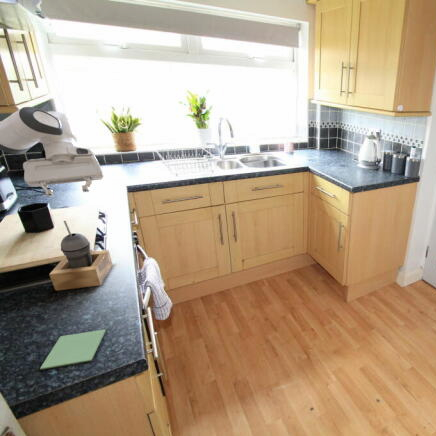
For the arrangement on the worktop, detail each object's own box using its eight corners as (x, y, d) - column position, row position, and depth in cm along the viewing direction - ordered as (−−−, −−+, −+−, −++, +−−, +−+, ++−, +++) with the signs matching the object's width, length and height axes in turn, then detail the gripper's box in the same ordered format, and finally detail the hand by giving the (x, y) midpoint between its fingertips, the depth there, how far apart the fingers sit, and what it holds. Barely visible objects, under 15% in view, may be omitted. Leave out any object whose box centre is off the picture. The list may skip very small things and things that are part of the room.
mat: (40, 369, 71) (39, 368, 71) (60, 337, 80) (60, 336, 80) (91, 360, 74) (91, 359, 74) (106, 330, 83) (105, 329, 82)
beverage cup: (83, 285, 99) (63, 228, 91) (66, 280, 101) (45, 224, 93) (104, 273, 106) (88, 218, 97) (88, 268, 108) (71, 215, 99)
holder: (55, 290, 97) (49, 274, 94) (72, 269, 107) (67, 254, 105) (100, 285, 100) (95, 269, 97) (112, 265, 110) (108, 250, 108)
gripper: (18, 154, 99) (21, 193, 95) (97, 149, 109) (103, 184, 105) (26, 165, 104) (30, 202, 101) (101, 159, 114) (107, 193, 110)
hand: (68, 193), depth 103 cm, fingers open, 8 cm apart
